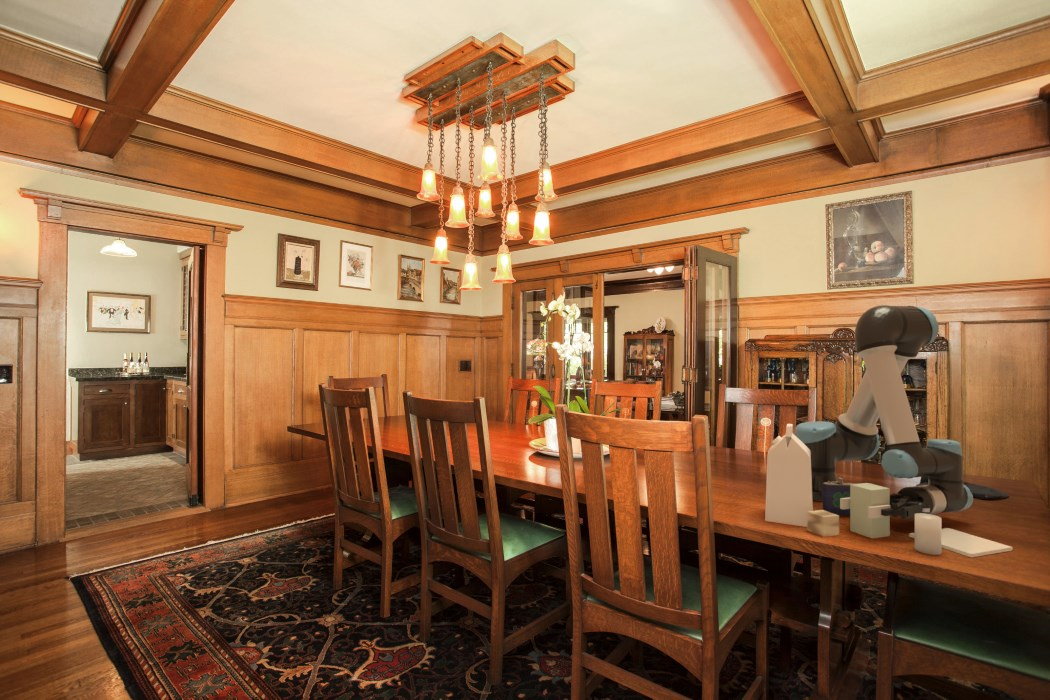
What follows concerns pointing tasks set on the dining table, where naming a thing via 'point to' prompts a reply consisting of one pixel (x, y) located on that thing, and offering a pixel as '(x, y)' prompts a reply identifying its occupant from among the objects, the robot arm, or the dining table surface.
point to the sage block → (859, 504)
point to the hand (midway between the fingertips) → (855, 508)
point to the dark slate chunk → (975, 490)
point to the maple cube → (823, 523)
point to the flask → (835, 496)
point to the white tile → (969, 544)
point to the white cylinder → (928, 533)
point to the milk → (788, 481)
